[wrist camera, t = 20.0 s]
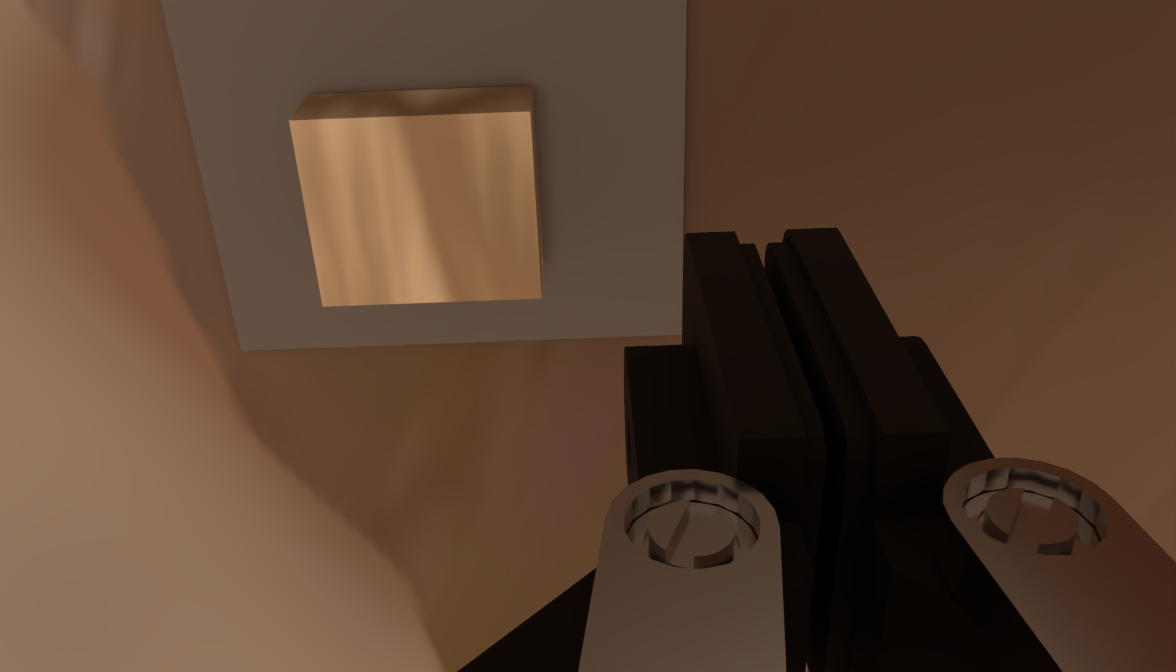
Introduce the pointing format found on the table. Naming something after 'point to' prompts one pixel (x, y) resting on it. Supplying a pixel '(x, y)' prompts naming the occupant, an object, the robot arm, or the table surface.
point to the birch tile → (421, 194)
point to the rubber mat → (447, 61)
